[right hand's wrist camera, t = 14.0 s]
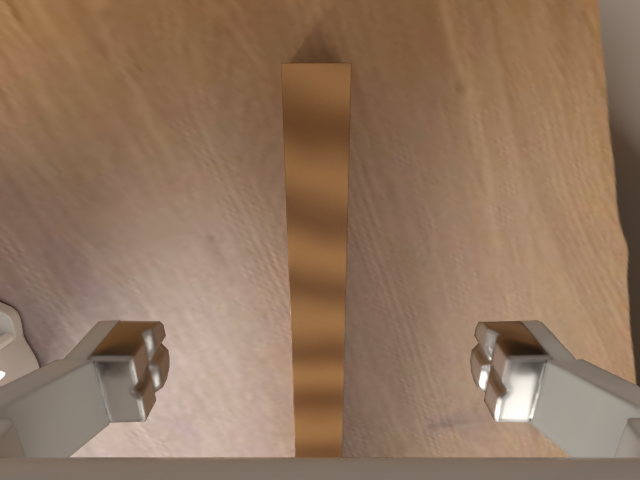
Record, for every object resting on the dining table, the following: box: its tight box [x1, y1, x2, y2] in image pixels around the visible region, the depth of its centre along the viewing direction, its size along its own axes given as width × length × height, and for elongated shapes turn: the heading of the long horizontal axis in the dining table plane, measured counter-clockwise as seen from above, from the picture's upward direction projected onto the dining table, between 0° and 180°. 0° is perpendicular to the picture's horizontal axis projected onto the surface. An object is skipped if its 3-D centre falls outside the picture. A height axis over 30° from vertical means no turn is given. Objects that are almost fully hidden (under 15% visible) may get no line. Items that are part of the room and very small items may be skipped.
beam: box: [281, 63, 351, 458], centre depth 42 cm, size 71×5×6 cm, turn 0°
